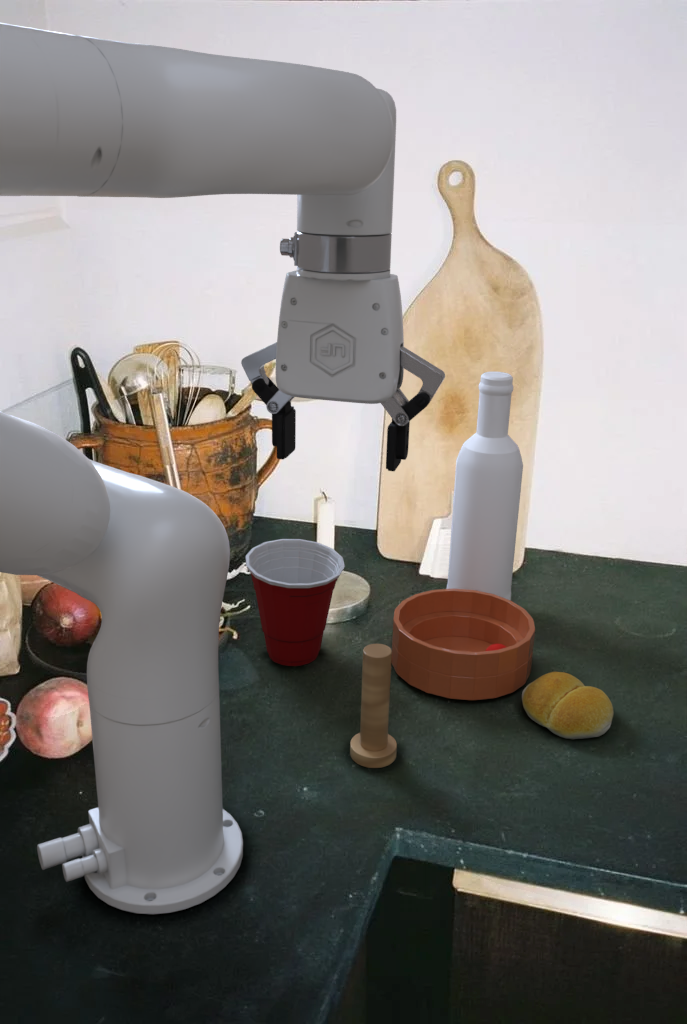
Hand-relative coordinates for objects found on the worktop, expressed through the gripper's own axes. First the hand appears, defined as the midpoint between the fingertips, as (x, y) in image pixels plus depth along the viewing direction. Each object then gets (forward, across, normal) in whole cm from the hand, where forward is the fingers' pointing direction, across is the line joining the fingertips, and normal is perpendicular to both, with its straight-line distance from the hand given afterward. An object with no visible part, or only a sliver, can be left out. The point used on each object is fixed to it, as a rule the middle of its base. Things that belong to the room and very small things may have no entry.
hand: (339, 460), depth 81 cm
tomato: (+26, +14, +17) cm, 34 cm away
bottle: (+28, +10, +31) cm, 43 cm away
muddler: (+28, +4, -2) cm, 29 cm away
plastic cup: (+28, -8, +14) cm, 33 cm away
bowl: (+28, +10, +17) cm, 34 cm away
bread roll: (+28, +22, +10) cm, 37 cm away
